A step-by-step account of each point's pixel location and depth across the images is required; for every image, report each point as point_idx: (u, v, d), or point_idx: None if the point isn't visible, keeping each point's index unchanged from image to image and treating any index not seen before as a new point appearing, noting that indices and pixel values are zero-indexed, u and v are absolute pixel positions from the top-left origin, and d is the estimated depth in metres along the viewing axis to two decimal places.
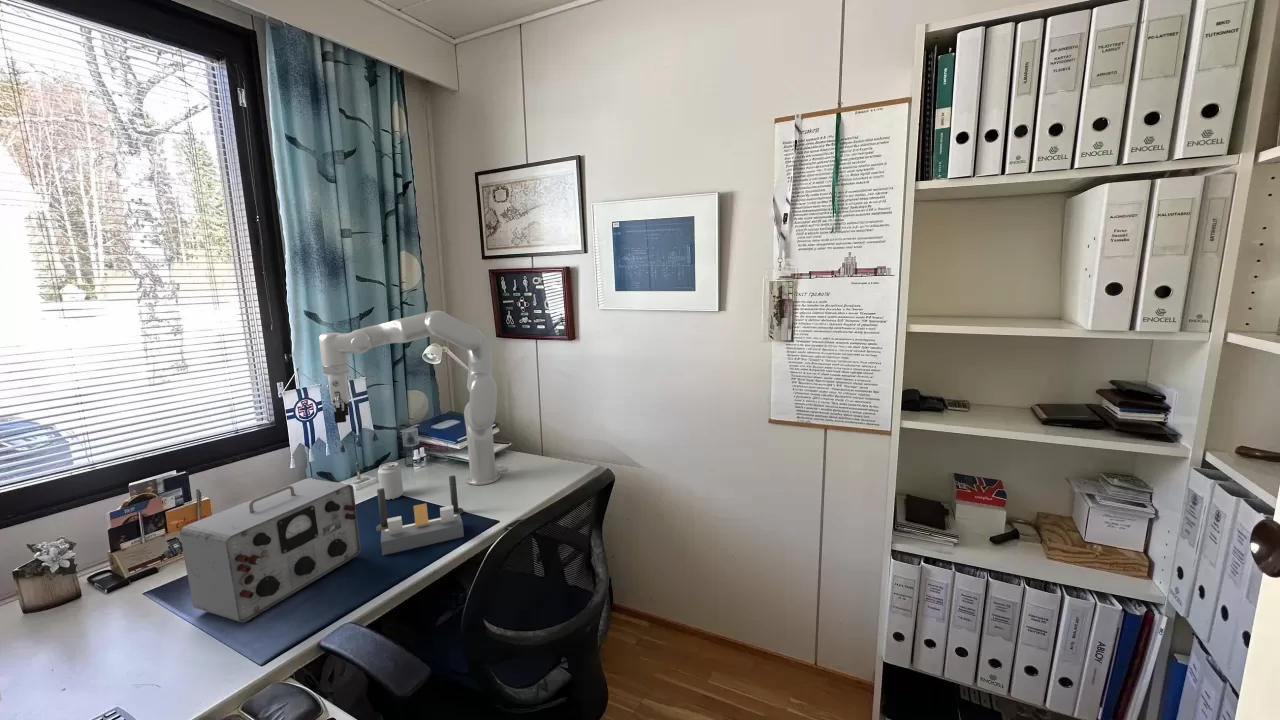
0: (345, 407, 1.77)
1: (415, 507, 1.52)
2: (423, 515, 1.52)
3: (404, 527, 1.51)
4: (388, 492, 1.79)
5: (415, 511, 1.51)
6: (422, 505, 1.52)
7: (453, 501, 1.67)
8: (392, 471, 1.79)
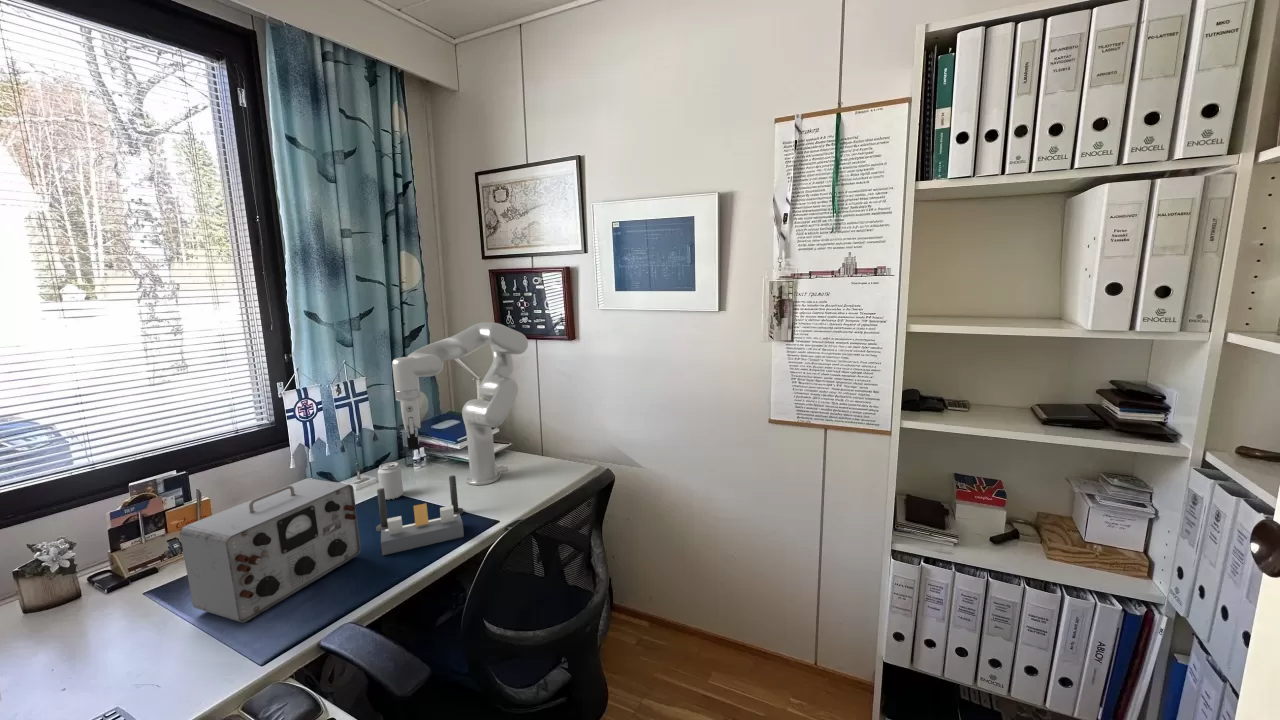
0: None
1: (415, 507, 1.52)
2: (423, 515, 1.52)
3: (404, 527, 1.51)
4: (388, 492, 1.79)
5: (415, 511, 1.51)
6: (422, 505, 1.52)
7: (453, 501, 1.67)
8: (392, 471, 1.79)
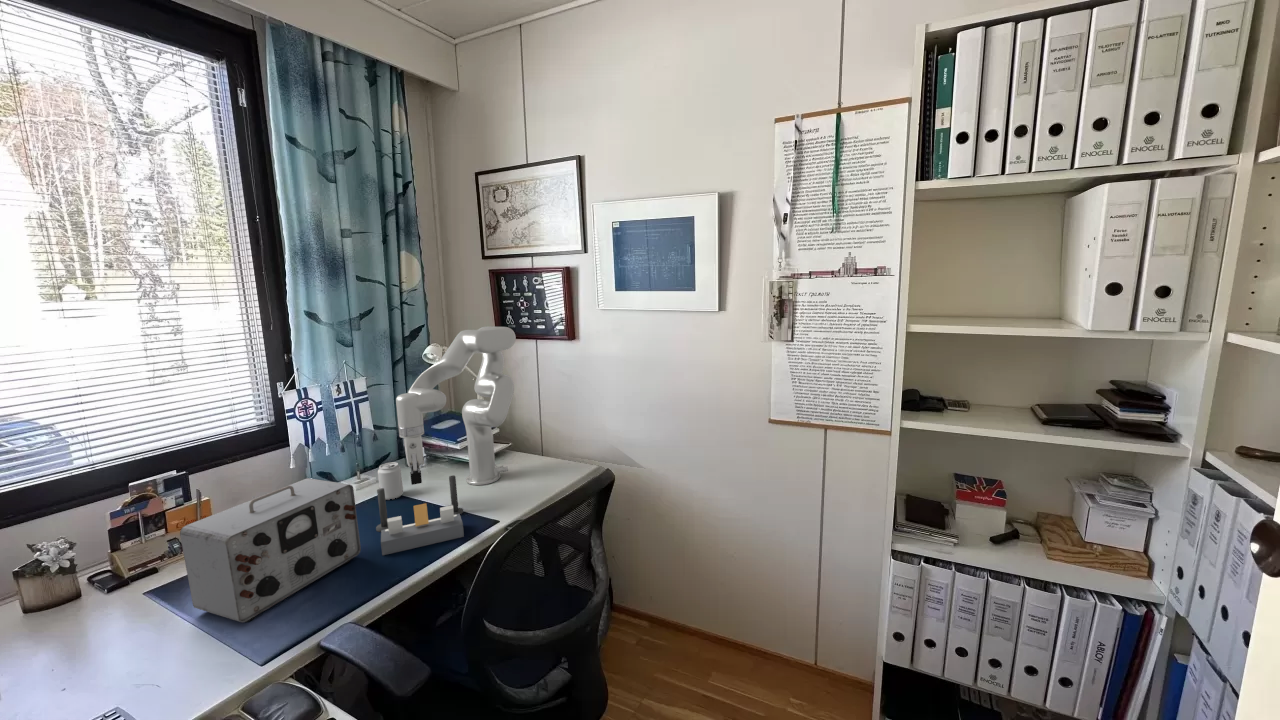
0: None
1: (415, 507, 1.52)
2: (423, 515, 1.52)
3: (404, 527, 1.51)
4: (388, 492, 1.79)
5: (415, 511, 1.51)
6: (422, 505, 1.52)
7: (453, 501, 1.67)
8: (392, 471, 1.79)
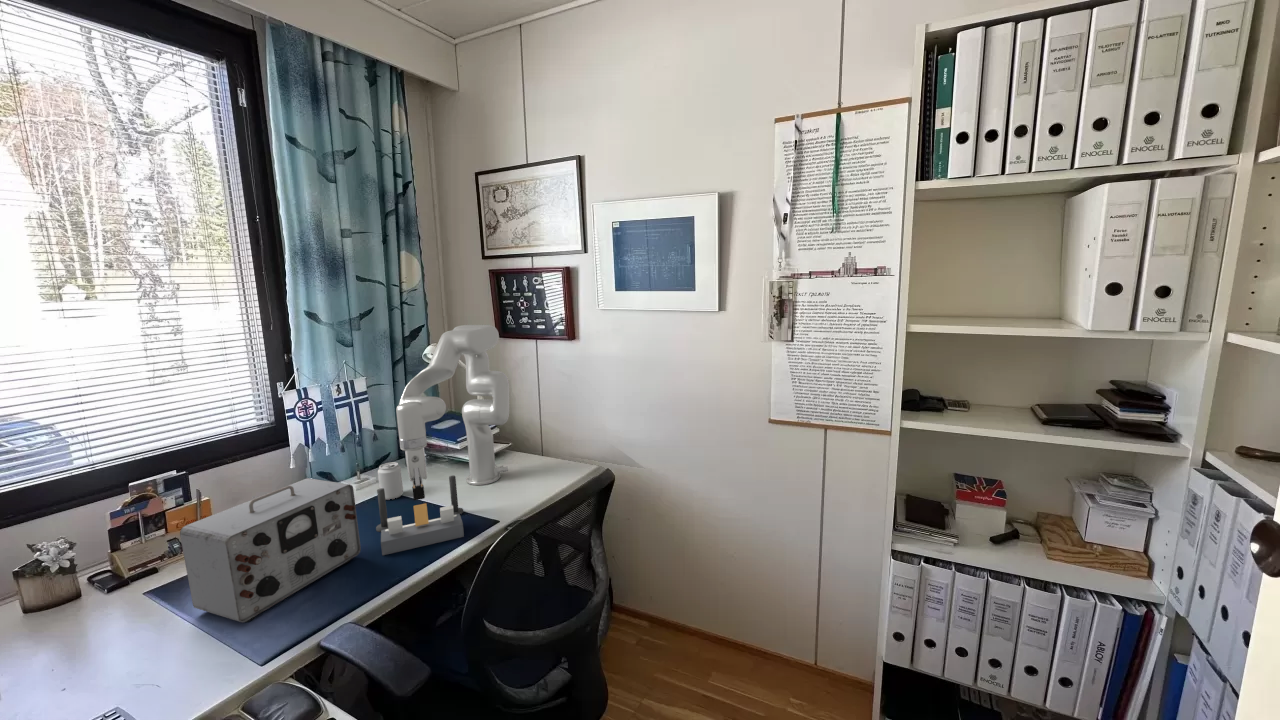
0: None
1: (415, 507, 1.52)
2: (423, 515, 1.52)
3: (404, 527, 1.51)
4: (388, 492, 1.79)
5: (415, 511, 1.51)
6: (422, 505, 1.52)
7: (453, 501, 1.67)
8: (392, 471, 1.79)
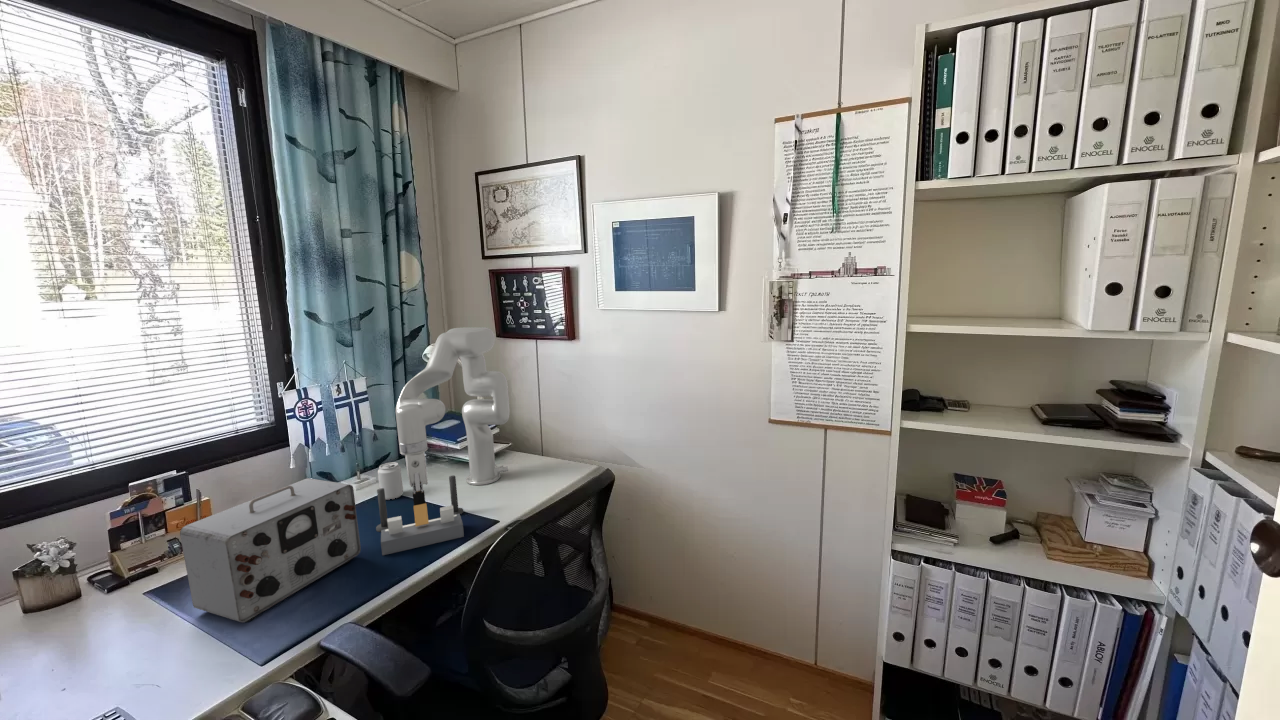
0: None
1: (415, 507, 1.51)
2: (423, 515, 1.51)
3: (404, 527, 1.51)
4: (388, 492, 1.79)
5: (415, 511, 1.51)
6: (422, 505, 1.52)
7: (453, 501, 1.67)
8: (392, 471, 1.79)
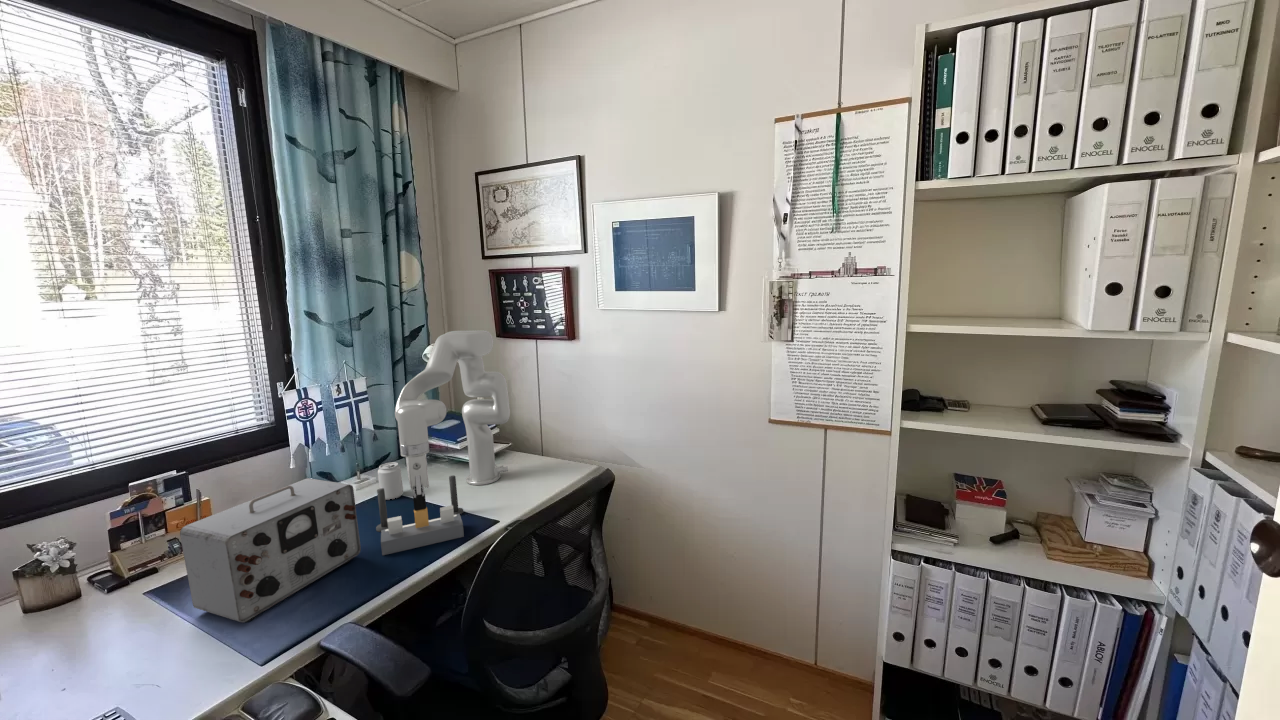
0: None
1: (416, 513, 1.47)
2: (424, 519, 1.49)
3: (404, 527, 1.51)
4: (388, 492, 1.79)
5: (415, 517, 1.48)
6: (423, 511, 1.48)
7: (453, 501, 1.67)
8: (392, 471, 1.79)
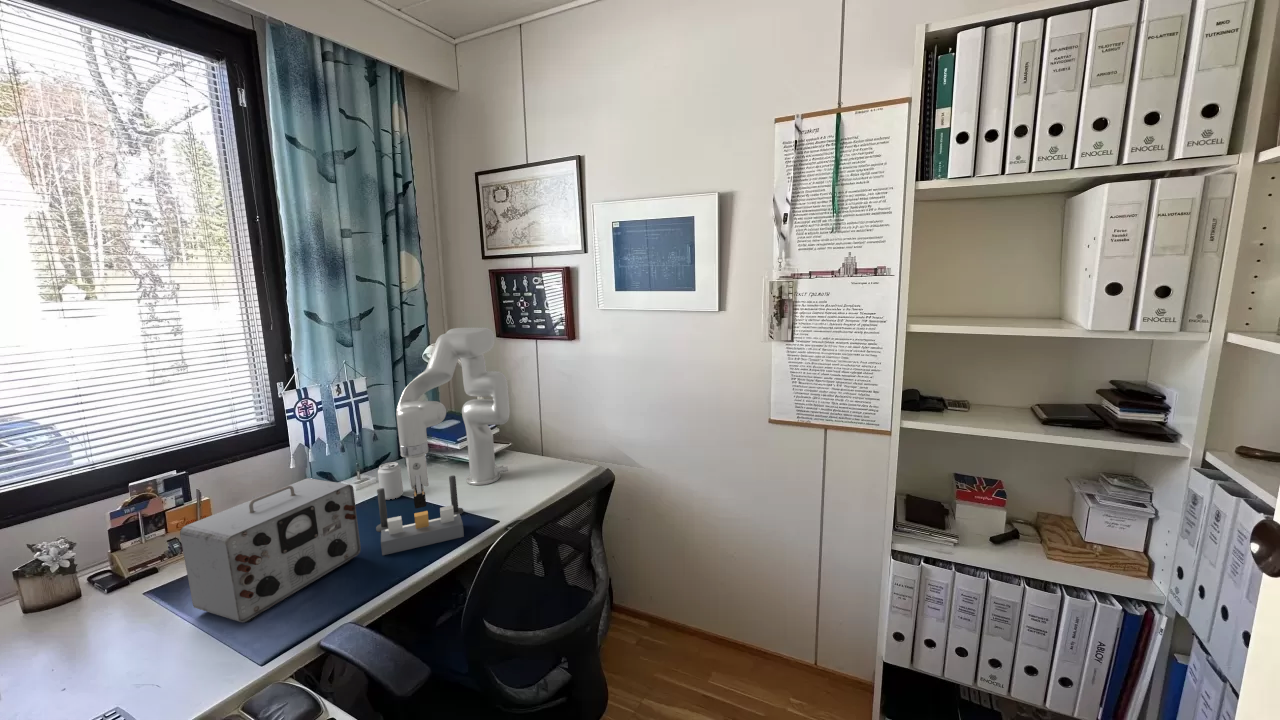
0: None
1: (416, 517, 1.46)
2: (424, 521, 1.49)
3: (404, 527, 1.51)
4: (388, 492, 1.79)
5: (415, 520, 1.47)
6: (423, 515, 1.47)
7: (453, 501, 1.67)
8: (392, 471, 1.79)
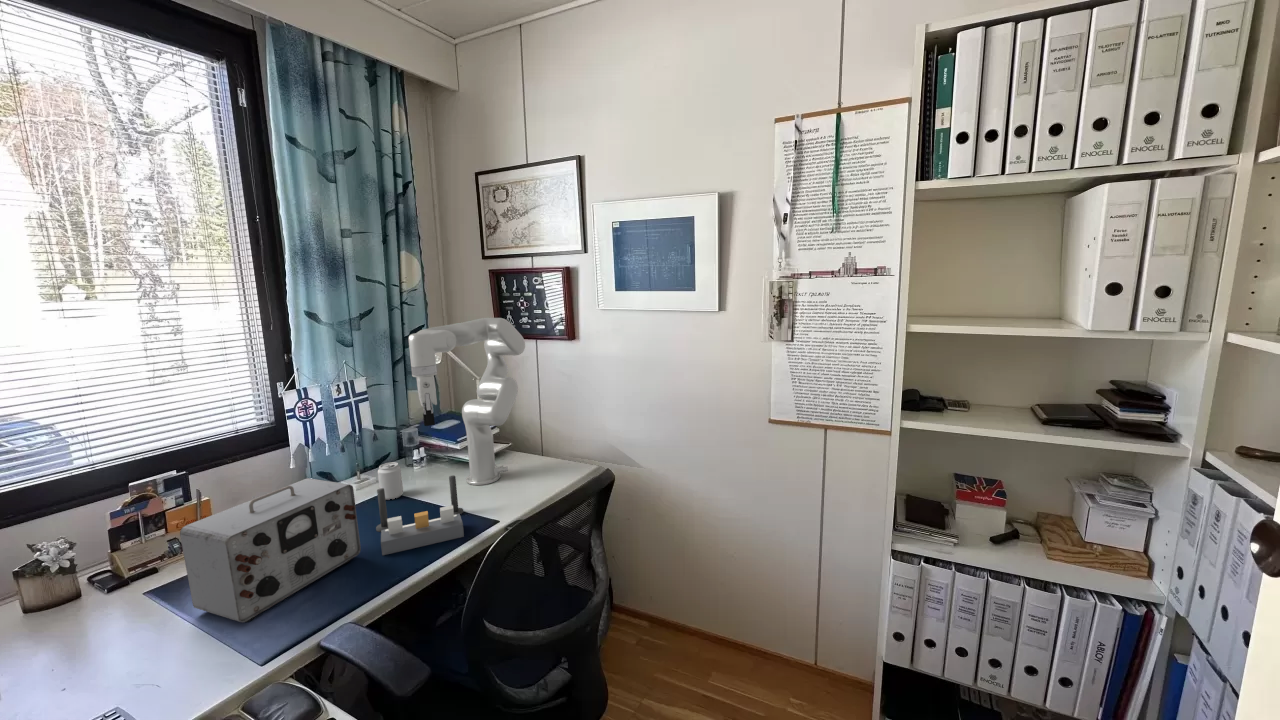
0: None
1: (416, 517, 1.46)
2: (424, 522, 1.49)
3: (404, 527, 1.51)
4: (388, 492, 1.79)
5: (415, 520, 1.47)
6: (423, 516, 1.47)
7: (453, 501, 1.67)
8: (392, 471, 1.79)
